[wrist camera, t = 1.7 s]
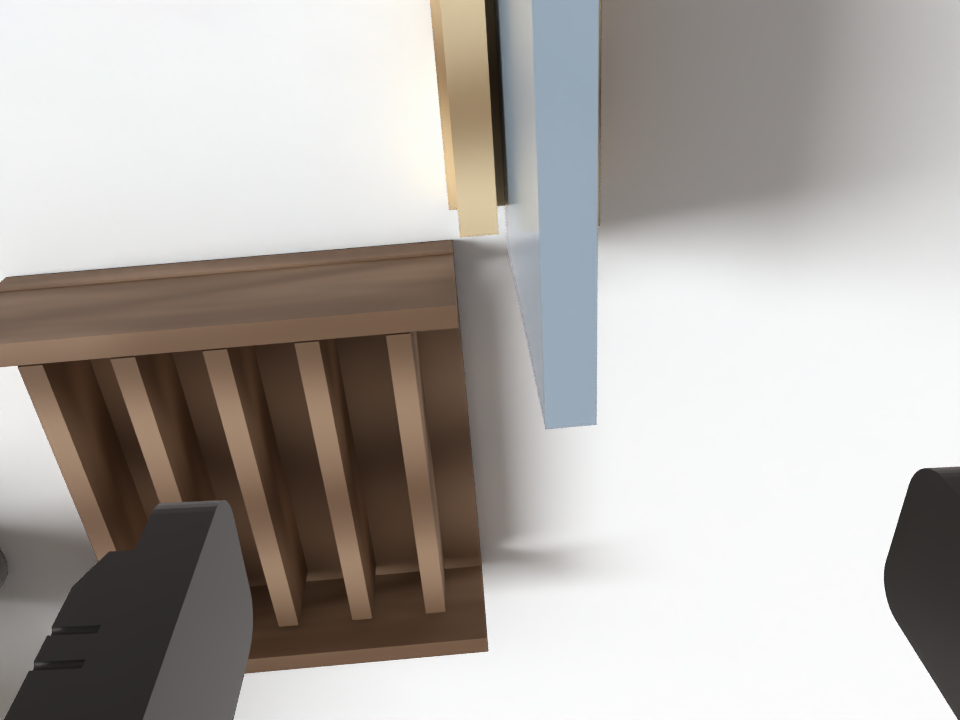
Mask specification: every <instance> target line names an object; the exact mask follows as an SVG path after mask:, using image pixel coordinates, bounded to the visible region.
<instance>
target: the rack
mask: <svg viewBox="0 0 960 720" xmlns="http://www.w3.org/2000/svg"><path fill="white" fill-rule="evenodd" d="M7 366H18V369H19V371H20V374H21V376H22V379H23V381H24V384H25V386H26V388H27V391H28V393H29V396H30V398H31V400H32V403H33V405H34V408H35V410H36V412H37V415H38V417H39V420H40V422H41V424H42V427H43V429H44V432H45V434H46V436H47V439H48V441H49V444H50V446H51V448H52V451H53V453H54V456H55V458H56V460H57V463H58V465H59V468H60V470H61V472H62V475H63V477H64V480H65V482H66V484H67V487H68V489H69V492H70V494H71V496H72V499H73V501H74V504H75V506H76V508H77V511H78V513H79V516H80V518H81V520H82V523H83V525H84V528H85V530H86V532H87V535H88V537H89V540H90V542H91V545H92V547H93V549H94V552H95V554H96V557H97V559H98V561H100V560H101V559H102V558H103V557H104V556H105V555H106V554H107V553H108V552H109V551H128V550H135V548H136V546H137V544H138V542H139V539H140V537H141V535H142V533H143V530H144V528H145V526H146V524H147V522H148V519H149V517H150V515H151V513H152V511H153V509H154V508H155V507H156V506H157V505H158V504H160V503H173V502H194V501H215V500H226V501H227V502H228V503H229V505H230V506H231V509H232V512H233V516H234V520H235V525H236V529H237V534H238V538H239V543H240V547H241V552H242V556H243V560H244V565H245V569H246V574H247V578H248V583H249V587H250V592H251V597H252V607H253V630H252V641H251V647H250V652H249V656H248V661H247V665H246V669H245V673H255V672H266V671H277V670H288V669H299V668H310V667H321V666H333V665H344V664H355V663H366V662H377V661H388V660H399V659H410V658H421V657H432V656H443V655H454V654H465V653H476V652H487V651H488V640H487V627H486V614H485V601H484V589H483V575H482V563H481V552H480V541H479V530H478V519H477V508H476V497H475V486H474V475H473V464H472V453H471V442H470V431H469V420H468V409H467V398H466V387H465V376H464V365H463V354H462V343H461V332H460V321H459V310H458V299H457V288H456V277H455V266H454V255H453V244H452V240H444V241H432V242H420V243H408V244H396V245H384V246H373V247H361V248H349V249H337V250H325V251H313V252H301V253H289V254H278V255H266V256H254V257H242V258H230V259H218V260H206V261H195V262H183V263H171V264H159V265H147V266H135V267H123V268H112V269H100V270H88V271H76V272H64V273H52V274H40V275H29V276H17V277H6V278H5V279H4V280H3V281H1V282H0V367H7Z"/></svg>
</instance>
